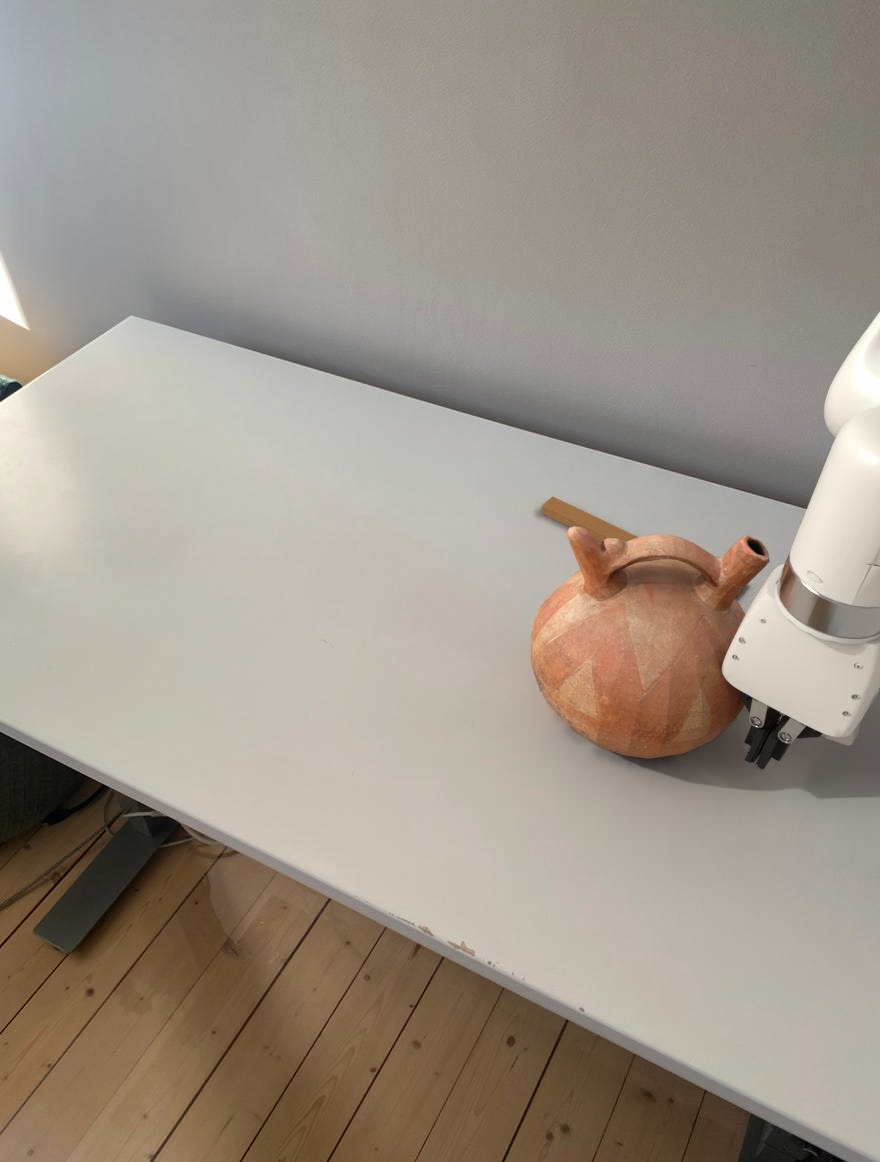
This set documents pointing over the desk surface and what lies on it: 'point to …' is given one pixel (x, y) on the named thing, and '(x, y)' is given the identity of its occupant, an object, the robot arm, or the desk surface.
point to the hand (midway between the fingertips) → (761, 754)
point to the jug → (644, 641)
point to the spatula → (583, 521)
